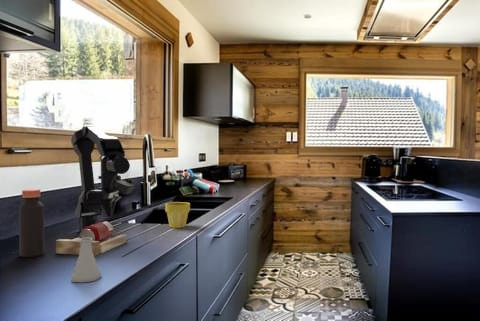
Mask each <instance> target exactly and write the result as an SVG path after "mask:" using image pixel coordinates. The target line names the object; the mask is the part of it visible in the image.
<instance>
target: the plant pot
mask: <svg viewBox="0 0 480 321" xmlns="http://www.w3.org/2000/svg"><path fill="white" fill-rule="evenodd" d="M164 211H165V213H166V215H167V219H168V225H169V226H168V227H170V228H171V229H181V227H182V228H185V227H186V225H187V220H188V215H189V212H191V203H190V202H185V201H184V202H182V201H181V202H180V201H173V202H166V203H165V209H164Z"/></svg>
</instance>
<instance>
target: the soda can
mask: <svg viewBox="0 0 480 321" xmlns="http://www.w3.org/2000/svg"><path fill="white" fill-rule="evenodd" d="M114 231H115V230H114V226H113V225H112V224H111V222H109V221H106V220H105V221H104V220H103V221H100V222H99V221H98V223H97V224H94V225H91V226H88V227H86V228H84V229H83V230H82V232H81V233H79V239H81V238H87V237H88V238H92V239H93V240H92V241H100V243H101V242H104V241H106V240H109V239H112V238H113V236H114Z"/></svg>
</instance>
